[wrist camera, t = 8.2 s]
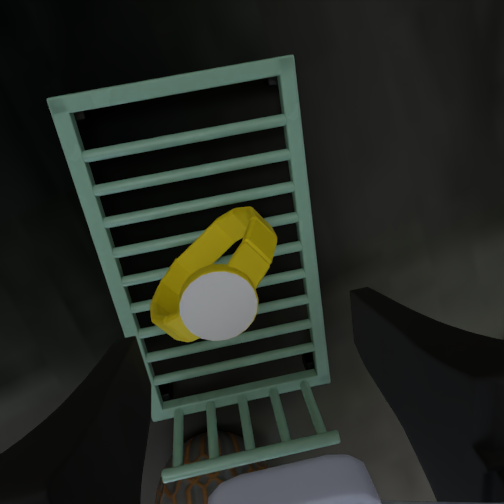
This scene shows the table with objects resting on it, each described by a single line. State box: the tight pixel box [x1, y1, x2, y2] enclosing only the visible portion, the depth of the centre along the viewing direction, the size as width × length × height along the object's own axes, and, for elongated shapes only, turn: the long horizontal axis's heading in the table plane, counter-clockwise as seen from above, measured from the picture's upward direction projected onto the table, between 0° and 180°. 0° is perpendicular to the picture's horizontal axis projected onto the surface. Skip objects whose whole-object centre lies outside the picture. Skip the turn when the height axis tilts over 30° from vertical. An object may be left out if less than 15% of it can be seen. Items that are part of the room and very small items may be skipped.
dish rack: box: [47, 55, 340, 484], centre depth 21 cm, size 10×17×6 cm, turn 9°
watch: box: [150, 207, 277, 342], centre depth 18 cm, size 6×3×6 cm, turn 133°
